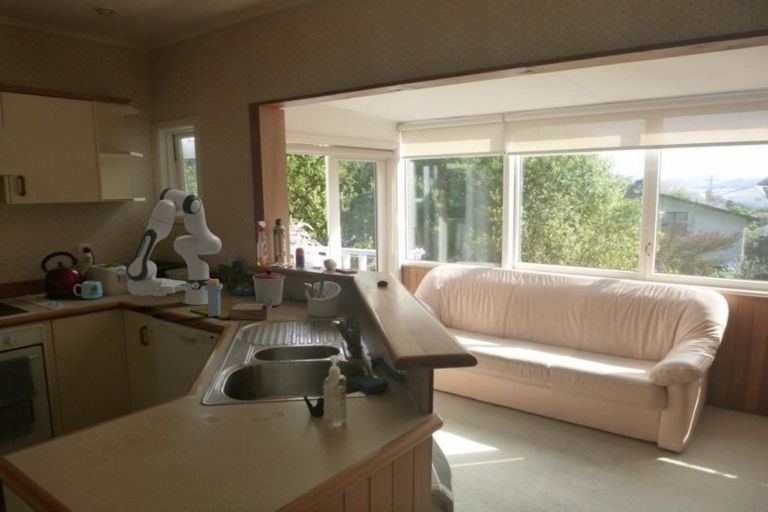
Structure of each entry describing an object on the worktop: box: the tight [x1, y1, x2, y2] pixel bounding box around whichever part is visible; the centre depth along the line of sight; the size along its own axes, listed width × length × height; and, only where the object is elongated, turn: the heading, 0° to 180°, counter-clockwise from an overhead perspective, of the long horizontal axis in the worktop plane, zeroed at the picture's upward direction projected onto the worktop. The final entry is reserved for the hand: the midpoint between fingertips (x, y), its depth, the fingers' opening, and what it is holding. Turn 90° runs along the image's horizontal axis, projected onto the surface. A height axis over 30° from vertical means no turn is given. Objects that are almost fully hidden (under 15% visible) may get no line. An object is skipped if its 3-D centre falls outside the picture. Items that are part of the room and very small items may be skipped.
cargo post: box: [205, 283, 224, 318], centre depth 259 cm, size 7×7×16 cm
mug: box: [72, 280, 103, 300], centre depth 300 cm, size 15×11×10 cm
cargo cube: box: [209, 278, 220, 286], centre depth 258 cm, size 4×4×4 cm
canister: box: [252, 268, 286, 308], centre depth 286 cm, size 18×18×21 cm
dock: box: [229, 300, 273, 320], centre depth 260 cm, size 16×18×7 cm
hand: (189, 287), depth 257 cm, fingers open, 8 cm apart
